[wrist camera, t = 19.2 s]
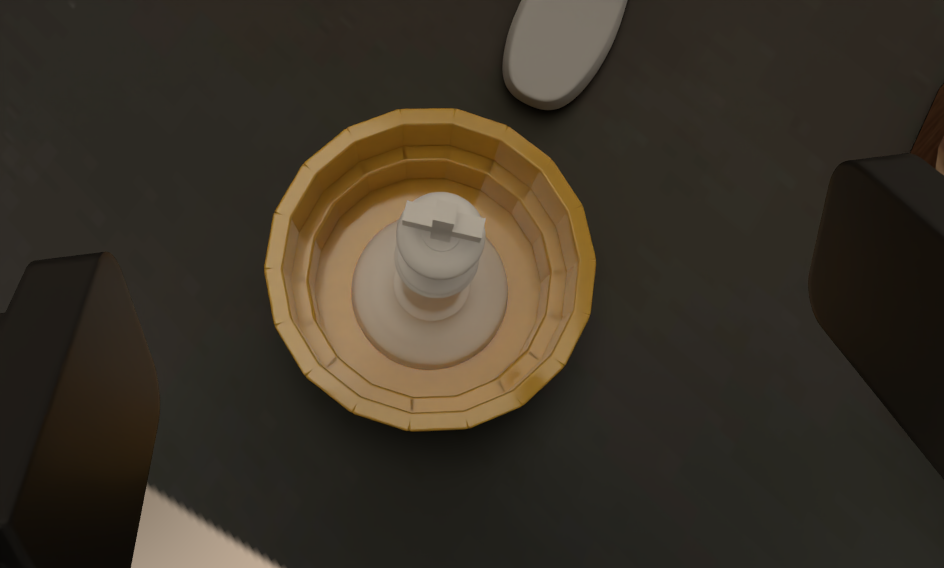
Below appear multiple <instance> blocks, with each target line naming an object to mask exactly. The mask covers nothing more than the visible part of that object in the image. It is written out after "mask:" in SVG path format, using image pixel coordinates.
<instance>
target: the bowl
mask: <svg viewBox="0 0 944 568" xmlns="http://www.w3.org/2000/svg"><path fill="white" fill-rule="evenodd" d="M551 160H552V159H551V158H550V157H548V156H547V155H546V154H545V153H543V152H542V151H541V150H539V149H538V148H537V147H535V146H534V145H533V144H531V143H530V142H529V141H527V140H526V139H525V138H524V137H522V136H521V135H520V134H518V133H517V132H516V131H514V130H513V129H512V128H510V127H508V126H507V125H504V124H501V123H498V122H495V121H492V120H489V119H486V118H483V117H480V116H477V115H474V114H471V113H468V112H465V111H462V110H459V109H454V108H437V109H400V110H399V109H397V110H394V111H392V112H389V113H386V114H383V115H381V116H378V117H375V118H372V119H369V120H367V121H364V122H361V123H358V124H355V125H353V126H350V127H348V128H347V129H344V130H343V131H342V132H341V133H340V134H338V135H337V136H336V137H335V138H333V139H332V140H331V141H330V142H329V143H327V144H326V145H325V146H324V147H322V148H321V149H320V150H319V151H318V152H316V153H315V154H314V155H313V156H311V157H310V158H309V159H308V160H307V161H305V162H304V165H302V166H301V167H300V169H299V171H298V172H297V174H296V176H295V177H294V179H293V181H292V182H291V184H290V186H289V188H288V189H287V191H286V193H285V194H284V196H283V198H282V199H281V201H280V203H279V204H278V206H277V208H276V209H275V213H274V214H273V219H272V225H271V230H270V236H269V241H268V247H267V252H266V258H265V263H264V274H265V279H266V285H267V290H268V296H269V301H270V306H271V312H272V317H273V323H274V325H275V328H276V330H277V332H278V333H279V335H280V337H281V338H282V340H283V342H284V343H285V345H286V347H287V348H288V350H289V351H290V353H291V355H292V356H293V358H294V360H295V361H296V363H297V365H298V366H299V368H300V370H301V371H302V373H303V375H305V376H306V378H307V379H308V380H310V381H311V382H312V383H314V384H315V385H316V386H317V387H319V388H320V389H321V390H322V391H324V392H325V393H326V394H327V395H329V396H330V397H331V398H333V399H334V400H335V401H336V402H338V403H339V404H340V405H341V406H343V407H344V408H345V409H347V410H348V411H349V412H351V413H353V414H355V415H358V416H361V417H364V418H367V419H370V420H373V421H376V422H379V423H382V424H385V425H389V426H392V427H395V428H398V429H401V430H404V431H410V432H417V431H440V430H463V429H469V428H473V427H475V426H477V425H480V424H482V423H484V422H487V421H489V420H492V419H494V418H496V417H499V416H501V415H504V414H506V413H508V412H511V411H513V410H515V409H518V408H520V407H522V406H523V405H525V404H526V403H527V402H528V401H529V400H530V399H531V398H532V397H533V396H534V395H535V394H537V393H538V392H539V391H540V390H541V389H542V388H543V387H544V386H545V385H546V384H547V383H548V382H549V381H550V380H551V379H553V378H554V377H555V376H556V375H557V374H558V373H559V372H560V371H561V370H562V369H563V368H564V366H565V365H566V364H567V362H568V360H569V358H570V356H571V354H572V352H573V350H574V348H575V346H576V344H577V342H578V340H579V338H580V336H581V334H582V332H583V330H584V328H585V326H586V324H587V322H588V320H589V315H590V314H591V306H592V297H593V288H594V278H595V269H596V256H595V252H594V248H593V244H592V240H591V236H590V232H589V228H588V224H587V220H586V216H585V212H584V208H583V207H582V204H581V202H580V201H579V199H578V198H577V196H576V195H575V193H574V191H573V190H572V188H571V187H570V185H569V184H568V182H567V181H566V179H565V178H564V176H563V175H562V173H561V172H560V170H559V169H558V167H557V166H556V164H555V163H554V161H551ZM433 192H448V193H452V194H456V195H458V196H460V197H462V198H464V199H466V200H467V201H468V202H470V203H471V204H472V205H473V206H474V207H475V208H476V210H477V211H478V213H479V214H480V216H481V217H482V218H486V220H485V225H484V227H485V236H486V238H487V239H488V240H489V241H490V242H491V243H492V245H493V246H494V247H495V249H496V251H497V252H498V254H499V256H500V258H501V260H502V263H503V265H504V269H505V272H506V277H507V284H508V301H507V308H506V312H505V315H504V318H503V321H502V323H501V326H500V328H499V330H498V331H497V333H496V335H495V336H494V337H493V339H492V340H491V341H490V342H489V344H488V345H487V346H486V347H485V348H484V349H483V350H482V351H480V352H479V353H478V354H477V355H475V356H474V357H472V358H470V359H469V360H467V361H465V362H463V363H461V364H458V365H455V366H452V367H448V368H443V369H435V370H425V369H417V368H412V367H408V366H405V365H402V364H399V363H397V362H395V361H393V360H391V359H389V358H388V357H386V356H385V355H383V354H382V353H381V352H380V351H378V350H377V349H376V348H375V347H374V346H373V345H372V344H371V343H370V341H369V340H368V339H367V338H366V336H365V335H364V333H363V332H362V330H361V328H360V326H359V324H358V322H357V319H356V317H355V313H354V310H353V305H352V295H351V289H352V279H353V274H354V271H355V268H356V265H357V262H358V260H359V258H360V256H361V254H362V253H363V251H364V249H365V248H366V246H367V245H368V243H369V242H370V241H371V240H372V239H373V238H374V236H375V235H377V234H378V233H379V232H380V231H381V230H382V229H384V228H385V227H386V226H388V225H390V224H391V223H393V222H395V221H397V220H399V219H400V216H401V214H402V213H403V211H404V210H405V206H406V202H407V201H412V202H413V201H414V200H415V199H417V198H419V197H420V196H423V195H425V194H428V193H433Z"/></svg>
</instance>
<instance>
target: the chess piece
mask: <svg viewBox="0 0 944 568" xmlns="http://www.w3.org/2000/svg"><path fill="white" fill-rule="evenodd" d="M485 220H486V218H482V217H481V216H480V214H479V213H478V211H477V210H476V208H475V207H474V206H473V205H472V204H471V203H470V202H468V201H467V200H466V199H464V198H462V197H460V196H458V195H456V194H452V193H448V192H433V193H428V194H425V195H423V196H420V197H419V198H417V199H415V200H414V201H413V202H412V201H407V202H406V206H405V210H404V211H403V213H402V214H401V216H400V219H399V220H397V221H395V222H393V223H391V224H390V225H388V226H386V227H385V228H384V229H382V230H381V231H380V232H379V233H378V234H377V235H375V236H374V238H373V239H372V240H371V241H370V242H369V243H368V245H367V246H366V248H365V249H364V251H363V253H362V254H361V256H360V258H359V260H358V262H357V265H356V268H355V271H354V274H353V279H352V289H351V295H352V305H353V310H354V313H355V317H356V319H357V322H358V324H359V326H360V328H361V330H362V332H363V333H364V335H365V336H366V338H367V339H368V340H369V341H370V343H371V344H372V345H373V346H374V347H375V348H376V349H377V350H378V351H380V352H381V353H382V354H383V355H385V356H386V357H388V358H389V359H391V360H393V361H395V362H397V363H399V364H402V365H405V366H408V367H412V368H417V369H425V370H435V369H443V368H448V367H452V366H455V365H458V364H461V363H463V362H465V361H467V360H469V359H470V358H472V357H474V356H475V355H477V354H478V353H479V352H480V351H482V350H483V349H484V348H485V347H486V346H487V345H488V344H489V342H490V341H491V340H492V339H493V337H494V336H495V335H496V333H497V331H498V330H499V328H500V326H501V323H502V321H503V318H504V315H505V312H506V308H507V301H508V284H507V277H506V272H505V269H504V265H503V263H502V260H501V258H500V256H499V254H498V252H497V251H496V249H495V247H494V246H493V245H492V243H491V242H490V241H489V240H488V239H487V238H486V236H485V227H484V225H485Z"/></svg>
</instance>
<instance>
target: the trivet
mask: <svg viewBox="0 0 944 568" xmlns="http://www.w3.org/2000/svg"><path fill="white" fill-rule="evenodd" d="M910 154H914V155H917V156H919V157H920V158H922V159H923V160H924V161H926V162H927V163H928V164H930V165H931V166H932V167H933V168H935V169H936V170H937V171H939V172H940V173H941V174H943V175H944V84H943V85H942V86H941V88H940V89H939V91H938V93H937V95H936V98H935V100H934V102H933V104H932V106H931V109H930V111H929V113H928V115H927V117H926V120H925V122H924V124H923V126H922V128H921V131H920V133H919V135H918V137H917V139H916V142H915V144H914V146H913V148H912V151H911V153H910Z"/></svg>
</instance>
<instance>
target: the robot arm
mask: <svg viewBox="0 0 944 568" xmlns="http://www.w3.org/2000/svg"><path fill="white" fill-rule="evenodd" d="M808 291H809V298H810V303H811V307H812V310H813V313H814V315H815V317H816V319H817V321H818V323H819V324H820V326H821V327H822V329H823V330H824V331H825V332H826V334H827V335H828V336H829V337H830V338H831V340H832V341H833V342H834V343H835V345H836V346H837V347H838V348H839V350H840V351H841V352H842V353H843V355H844V356H845V357H846V358H847V360H848V361H849V362H850V363H851V365H852V366H853V367H854V368H855V370H856V371H857V372H858V373H859V375H860V376H861V377H862V378H863V380H864V381H865V382H866V383H867V385H868V386H869V387H870V388H871V389H872V391H873V392H874V393H875V394H876V396H877V397H878V398H879V399H880V401H881V402H882V403H883V404H884V406H885V407H886V408H887V409H888V411H889V412H890V413H891V414H892V416H893V417H894V418H895V419H896V421H897V422H898V423H899V424H900V426H901V427H902V428H903V429H904V431H905V432H906V433H907V434H908V436H909V437H910V438H911V439H912V440H913V442H914V443H915V444H916V445H917V447H918V448H919V449H920V450H921V452H922V453H923V454H924V455H925V457H926V458H927V459H928V460H929V462H930V463H931V464H932V465H933V467H934V468H935V469H936V470H937V472H938V473H939V474H940V475H941V477H942V478H943V479H944V175H943V174H941V173H940V172H939V171H937V170H936V169H935V168H933V167H932V166H931V165H930V164H928V163H927V162H926V161H924V160H923V159H922V158H920V157H919V156H917V155H914V154H909V153H906V154H898V155H890V156H882V157H874V158H866V159H858V160H850V161H845V162H843V163H841V164H840V165H839V166H838V167H837V168H836V169H835V171H834V172H833V174H832V177H831V179H830V183H829V187H828V191H827V196H826V200H825V204H824V209H823V213H822V218H821V222H820V227H819V231H818V236H817V240H816V245H815V249H814V253H813V258H812V262H811V267H810V271H809V279H808ZM159 414H160V395H159V386H158V379H157V374H156V369H155V366H154V362H153V359H152V356H151V354H150V351H149V348H148V345H147V342H146V339H145V336H144V334H143V331H142V328H141V325H140V322H139V319H138V317H137V314H136V311H135V308H134V305H133V302H132V299H131V297H130V294H129V291H128V288H127V285H126V282H125V279H124V277H123V274H122V271H121V269H120V266H119V264H118V262H117V261H116V259H115V257H114V256H113V255H112V254H111V253H109V252H100V253H92V254H84V255H76V256H68V257H60V258H52V259H44V260H36V261H33V262H31V263H30V264H29V265H28V266H27V268H26V270H25V272H24V274H23V276H22V278H21V280H20V282H19V285H18V287H17V289H16V291H15V293H14V295H13V297H12V300H11V302H10V304H9V306H8V308H7V310H6V313H0V568H131V563H132V558H133V552H134V547H135V542H136V537H137V532H138V527H139V521H140V516H141V511H142V506H143V501H144V495H145V490H146V485H147V480H148V475H149V469H150V464H151V459H152V454H153V448H154V443H155V438H156V433H157V427H158V422H159Z"/></svg>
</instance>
